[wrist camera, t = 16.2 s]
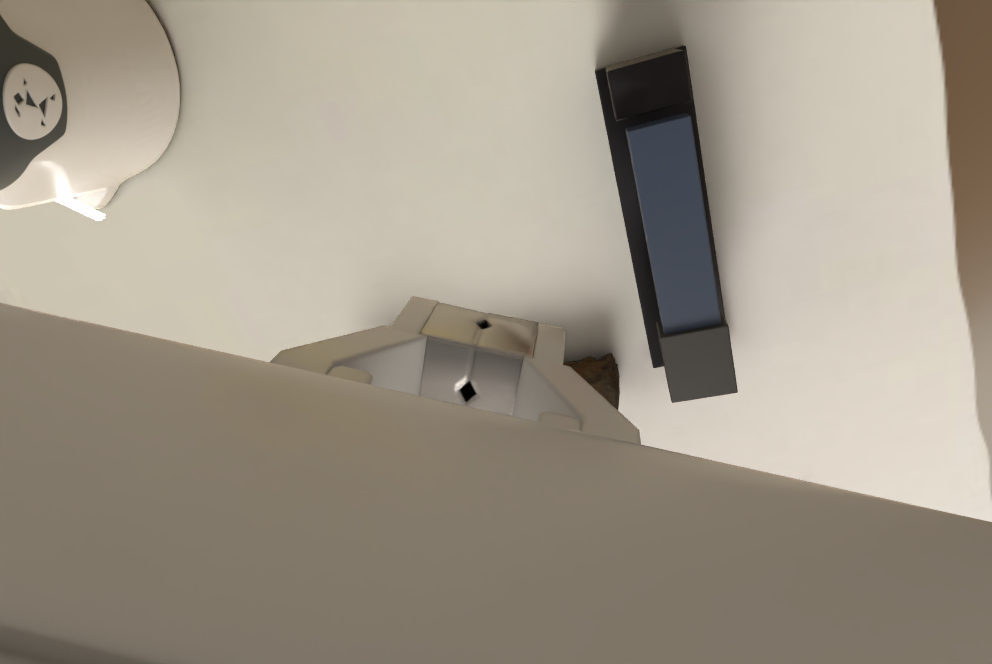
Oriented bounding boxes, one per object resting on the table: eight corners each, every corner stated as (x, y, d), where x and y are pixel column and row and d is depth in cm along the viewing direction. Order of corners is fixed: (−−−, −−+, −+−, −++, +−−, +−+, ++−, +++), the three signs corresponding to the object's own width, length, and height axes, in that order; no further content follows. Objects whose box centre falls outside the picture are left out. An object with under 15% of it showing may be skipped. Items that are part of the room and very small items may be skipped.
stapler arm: (730, 374, 40) (738, 393, 38) (667, 384, 41) (671, 403, 38) (691, 110, 34) (698, 114, 32) (619, 128, 35) (621, 134, 33)
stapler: (727, 347, 45) (743, 386, 40) (651, 360, 46) (659, 399, 41) (683, 45, 37) (697, 46, 33) (594, 69, 39) (595, 74, 34)
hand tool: (617, 344, 46) (620, 375, 42) (619, 393, 48) (621, 427, 43) (365, 352, 49) (343, 381, 45) (374, 398, 51) (354, 430, 46)
